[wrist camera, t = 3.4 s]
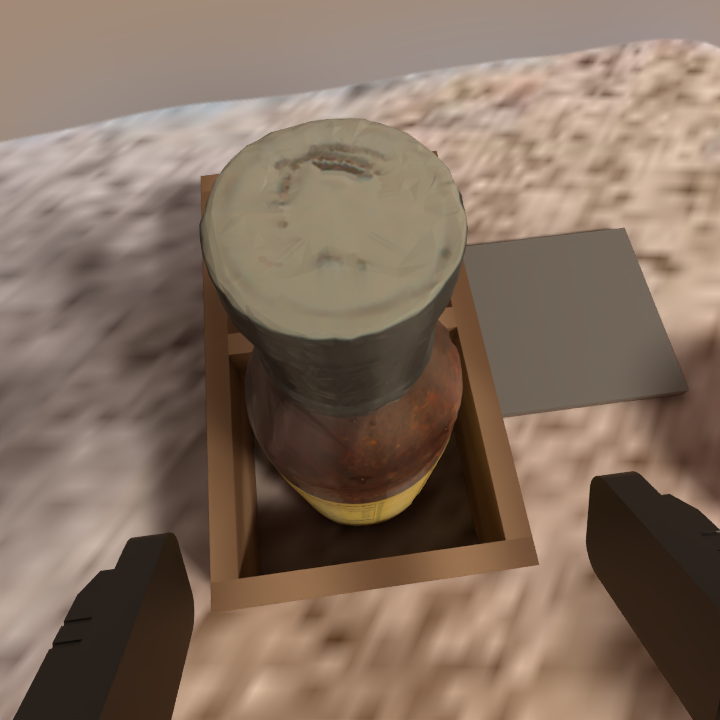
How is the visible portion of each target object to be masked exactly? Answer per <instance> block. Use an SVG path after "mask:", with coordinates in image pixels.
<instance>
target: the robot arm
mask: <svg viewBox="0 0 720 720" xmlns="http://www.w3.org/2000/svg"><path fill="white" fill-rule="evenodd" d="M586 547H587V552H588V556H589V560H590V563H591V565H592V568H593V570H594V572H595V573H596V575H597V577H598V578H599V580H600V581H601V583H602V584H603V586H604V587H605V589H606V590H607V592H608V593H609V595H610V596H611V597H612V599H613V600H614V602H615V603H616V605H617V606H618V608H619V609H620V611H621V612H622V614H623V615H624V617H625V618H626V620H627V621H628V623H629V624H630V626H631V627H632V629H633V630H634V632H635V633H636V635H637V636H638V638H639V639H640V641H641V642H642V644H643V645H644V647H645V648H646V650H647V651H648V653H649V654H650V656H651V657H652V659H653V660H654V662H655V663H656V665H657V666H658V668H659V669H660V671H661V672H662V674H663V675H664V677H665V678H666V680H667V681H668V683H669V684H670V686H671V687H672V689H673V690H674V692H675V693H676V695H677V696H678V698H679V699H680V701H681V702H682V704H683V705H684V707H685V708H686V710H687V711H688V713H689V714H690V716H691V717H692V719H693V720H720V529H719V528H717V527H716V526H715V525H714V524H713V523H712V522H711V521H710V520H709V519H708V518H707V517H706V516H705V515H704V514H702V513H701V512H700V511H699V510H698V509H696V508H694V507H692V506H691V505H689V504H687V503H685V502H683V501H681V500H680V499H678V498H676V497H674V496H672V495H670V494H666V495H661V494H660V493H659V492H658V491H657V490H655V489H654V488H653V487H652V486H651V485H650V484H649V483H648V482H647V481H646V480H645V479H644V478H643V477H642V476H641V475H640V474H639V473H637V472H634V471H631V472H624V473H617V474H609V475H602V476H596V477H594V478H593V479H592V481H591V484H590V494H589V507H588V520H587V533H586ZM193 625H194V600H193V594H192V590H191V587H190V583H189V580H188V576H187V573H186V569H185V565H184V562H183V558H182V555H181V551H180V548H179V544H178V541H177V538H176V536H175V535H174V534H173V533H164V534H156V535H149V536H142V537H134V538H130V539H129V540H128V541H127V543H126V545H125V547H124V549H123V551H122V554H121V556H120V558H119V560H118V562H117V565H116V567H115V569H111V570H104V571H100V572H99V573H98V574H97V575H96V576H95V577H94V578H93V579H92V580H91V581H90V582H89V583H88V584H87V585H86V587H85V588H84V589H83V590H82V591H81V592H80V593H79V594H78V595H77V597H76V599H75V601H74V602H73V604H72V606H71V608H70V610H69V612H68V614H67V616H66V618H65V620H64V626H61V628H60V630H59V632H58V633H57V635H56V637H55V639H54V641H53V643H52V644H53V647H52V649H49V651H48V653H47V655H46V657H45V659H44V661H43V663H42V665H41V666H40V668H39V670H38V672H37V674H36V676H35V678H34V680H33V682H32V684H31V686H30V688H29V690H28V692H27V694H26V696H25V697H24V699H23V701H22V703H21V705H20V707H19V709H18V711H17V713H16V715H15V717H14V719H13V720H171V718H172V714H173V710H174V706H175V702H176V697H177V693H178V689H179V685H180V681H181V677H182V672H183V668H184V664H185V660H186V656H187V652H188V648H189V643H190V639H191V635H192V631H193Z"/></svg>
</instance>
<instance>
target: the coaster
mask: <svg viewBox="0 0 720 720" xmlns="http://www.w3.org/2000/svg"><path fill="white" fill-rule="evenodd" d="M463 260H464V264H465V268H466V272H467V276H468V280H469V284H470V288H471V292H472V296H473V300H474V304H475V308H476V312H477V316H478V320H479V324H480V328H481V332H482V337H483V341H484V345H485V349H486V353H487V357H488V361H489V365H490V369H491V373H492V377H493V381H494V385H495V389H496V393H497V397H498V401H499V405H500V409H501V413H502V417H503V418H504V417H512V416H520V415H527V414H535V413H542V412H550V411H557V410H565V409H572V408H580V407H588V406H595V405H603V404H610V403H618V402H625V401H633V400H640V399H648V398H656V397H663V396H671V395H678V394H683V393H685V392H686V391H688V390H689V389H688V386H687V384H686V381H685V379H684V376H683V374H682V371H681V369H680V366H679V364H678V361H677V359H676V356H675V354H674V351H673V349H672V346H671V343H670V341H669V338H668V336H667V333H666V331H665V328H664V326H663V323H662V321H661V318H660V316H659V313H658V311H657V308H656V306H655V303H654V301H653V298H652V296H651V293H650V291H649V288H648V286H647V283H646V281H645V278H644V276H643V273H642V271H641V268H640V265H639V263H638V260H637V258H636V255H635V253H634V250H633V248H632V245H631V243H630V240H629V238H628V235H627V233H626V230H625V228H619V229H610V230H602V231H593V232H584V233H576V234H567V235H558V236H550V237H541V238H532V239H524V240H515V241H507V242H498V243H489V244H481V245H472V246H466V252H465V255H464V258H463Z"/></svg>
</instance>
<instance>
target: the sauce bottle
mask: <svg viewBox="0 0 720 720" xmlns="http://www.w3.org/2000/svg"><path fill="white" fill-rule="evenodd" d="M467 230H468V227H467V218H466V212H465V209H464V206H463V201H462V195H461V193H460V192H459V190H458V188H457V186H456V184H455V182H454V180H453V178H452V176H451V173H450V171H449V169H448V168H447V167H446V165H445V164H444V163H443V162H442V161H441V160H440V159H439V158H438V157H437V156H436V155H435V154H434V153H433V152H432V151H430V150H429V149H428V148H427V147H425V146H424V145H423V144H421V143H420V142H419V141H417V140H416V139H415V138H413V137H412V136H411V135H409V134H408V133H405V132H402V131H400V130H397V129H395V128H392V127H389V126H386V125H384V124H381V123H376V122H371V121H368V120H365V119H351V118H350V119H326V120H318V121H311V122H307V123H303V124H300V125H297V126H294V127H290V128H286V129H282V130H279V131H275V132H271V133H269V134H267V135H266V136H264V137H263V138H261V139H260V140H258V141H256V142H254V143H252V144H249V145H247V146H246V147H245V148H244V149H242V150H241V151H240V152H239V153H238V154H237V155H236V156H235V157H234V158H233V159H232V160H231V161H230V162H229V163H228V164H227V165H226V166H225V167H224V169H223V170H222V172H221V173H220V174H219V176H218V177H217V178H216V180H215V182H214V184H213V185H212V189H211V192H210V195H209V197H208V200H207V202H206V206H205V211H204V213H203V216H202V219H201V222H200V242H201V249H202V255H203V259H204V262H205V264H206V268H207V271H208V275H209V277H210V279H211V281H212V283H213V285H214V287H215V289H216V291H217V294H218V296H219V298H220V301H221V303H222V306H223V308H224V310H225V311H226V313H227V315H228V316H229V318H230V319H231V321H232V323H233V324H234V325H235V327H236V328H237V329H238V330H239V331H240V333H241V334H242V335H243V336H244V337H245V338H246V339H247V340H248V341H250V342H251V343H252V344H253V345H254V347H253V350H252V353H251V356H250V359H249V362H248V366H247V371H246V377H245V399H246V406H247V412H248V417H249V421H250V424H251V426H252V429H253V431H254V434H255V437H256V439H257V440H258V442H259V444H260V446H261V448H262V450H263V451H264V453H265V455H266V456H267V457H268V459H269V460H270V461H271V463H272V464H273V465H274V466H275V468H276V469H277V470H278V471H279V473H280V474H281V475H282V476H283V477H284V479H285V480H286V481H287V482H288V483H289V484H290V485H291V486H292V487H293V488H294V489H295V490H296V491H297V492H298V493H299V494H300V495H301V496H302V497H304V498H305V499H306V500H307V501H308V503H309V504H310V505H311V506H312V507H313V508H314V509H316V510H317V511H318V512H319V513H320V514H322V515H323V516H325V517H326V518H328V519H330V520H332V521H334V522H336V523H338V524H343V525H349V526H373V525H376V524H379V523H382V522H385V521H387V520H390V519H392V518H393V517H395V516H397V515H398V514H400V513H401V512H403V511H404V510H405V509H406V508H407V507H408V506H409V505H411V503H412V501H413V499H414V498H415V496H417V495H418V494H419V492H420V491H421V489H422V488H423V486H424V485H425V483H426V481H427V479H428V478H429V476H430V474H431V472H432V471H433V469H434V467H435V466H436V464H437V462H438V461H439V459H440V457H441V455H442V453H443V452H444V450H445V448H446V446H447V443H448V441H449V438H450V435H451V432H452V429H453V425H454V423H455V421H456V419H457V415H458V410H459V407H460V405H461V397H462V390H463V383H462V368H461V361H460V355H459V352H458V350H457V347H456V346H455V345H454V344H453V343H452V341H451V339H450V337H449V331H448V329H447V328H446V327H445V326H444V325H443V324H442V323H441V322H440V321H439V320H438V319H439V317H440V316H441V315H442V313H443V312H444V310H445V308H446V307H447V305H448V303H449V301H450V299H451V297H452V295H453V291H454V288H455V285H456V283H457V281H458V277H459V274H460V270H461V266H462V262H463V258H464V255H465V252H466V242H467Z"/></svg>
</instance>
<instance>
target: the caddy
mask: <svg viewBox="0 0 720 720" xmlns="http://www.w3.org/2000/svg"><path fill="white" fill-rule="evenodd" d="M432 152H433V153H434V154H435V155H436V156H437V157H438V155H437V151H432ZM218 176H219V174H216V175H206V176H201V207H202V216H203V213H204V211H205V206H206V202H207V200H208V197H209V195H210V192H211V189H212V185H213V184H214V182H215V180H216V178H217V177H218ZM203 289H204V330H205V371H206V412H207V454H208V495H209V536H210V577H211V613H214V612H221V611H228V610H235V609H242V608H248V607H255V606H262V605H269V604H276V603H282V602H289V601H296V600H303V599H310V598H316V597H323V596H330V595H337V594H344V593H351V592H357V591H364V590H371V589H378V588H385V587H391V586H398V585H405V584H412V583H419V582H425V581H432V580H439V579H446V578H453V577H460V576H466V575H473V574H480V573H487V572H494V571H500V570H507V569H514V568H521V567H528V566H534V565H539V562H538V558H537V554H536V550H535V546H534V542H533V538H532V534H531V530H530V526H529V522H528V518H527V514H526V510H525V506H524V502H523V498H522V494H521V490H520V486H519V482H518V478H517V474H516V470H515V465H514V461H513V457H512V453H511V449H510V445H509V441H508V437H507V433H506V429H505V425H504V421H503V417H502V413H501V409H500V405H499V401H498V397H497V393H496V389H495V385H494V381H493V377H492V373H491V369H490V365H489V361H488V357H487V353H486V349H485V345H484V341H483V337H482V332H481V328H480V324H479V320H478V316H477V312H476V308H475V304H474V300H473V296H472V292H471V288H470V284H469V280H468V276H467V272H466V268H465V264H464V260H463V262H462V266H461V270H460V274H459V277H458V281H457V283H456V285H455V288H454V291H453V295H452V297H451V299H450V301H449V303H448V305H447V307H446V308H445V310H444V312H443V313H442V315H441V316H440V317H439V319H438V320H439V321H440V322H441V323H442V324H443V325H444V326H445V327H446V328H447V329H448V331H449V337H450V339H451V341H452V343H453V344H454V345H455V346H456V347H457V350H458V352H459V355H460V361H461V368H462V383H463V390H462V397H461V405H460V407H459V410H458V415H457V419H456V421H455V423H454V425H453V427H454V431H455V436H456V441H457V446H458V450H459V455H460V460H461V465H462V470H463V474H464V479H465V484H466V489H467V493H468V498H469V503H470V508H471V513H472V517H473V522H474V527H475V532H476V536H477V541H478V544H477V545H470V546H463V547H456V548H449V549H442V550H435V551H428V552H421V553H415V554H408V555H401V556H394V557H387V558H380V559H373V560H366V561H359V562H352V563H345V564H338V565H331V566H324V567H317V568H310V569H303V570H297V571H290V572H283V573H276V574H269V575H262V576H261V562H260V545H259V528H258V511H257V494H256V477H255V460H254V443H253V429H252V426H251V424H250V421H249V417H248V412H247V406H246V399H245V377H246V371H247V366H248V362H249V359H250V356H251V353H252V350H253V347H254V345H253V344H252V343H251V342H250V341H248V340H247V339H246V338H245V337H244V336H243V335H242V334H241V333H240V331H239V330H238V329H237V328H236V327H235V325H234V324H233V323H232V321H231V319H230V318H229V316H228V315H227V313H226V311H225V310H224V308H223V306H222V303H221V301H220V298H219V296H218V294H217V291H216V289H215V287H214V285H213V283H212V281H211V279H210V277H209V275H208V271H207V268H206V264H205V262H204V259H203Z"/></svg>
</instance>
